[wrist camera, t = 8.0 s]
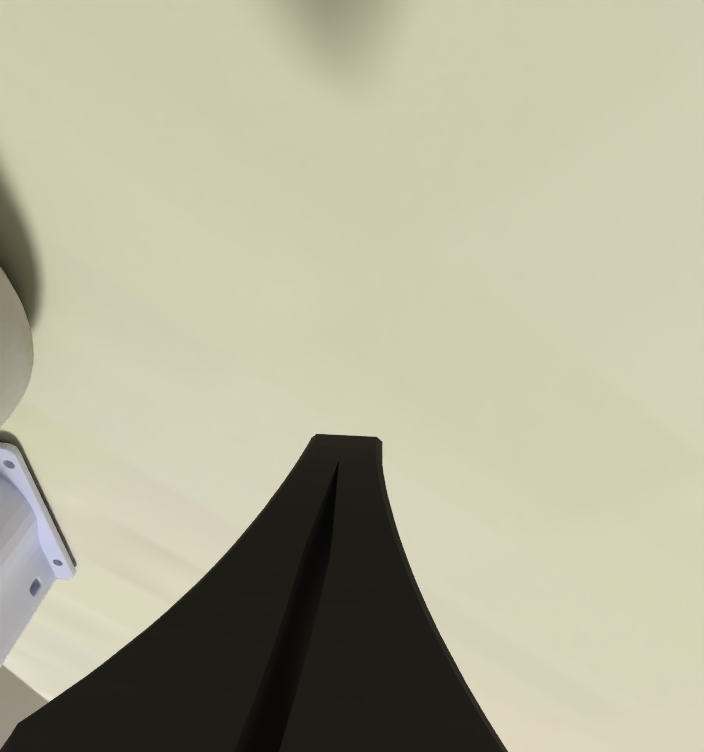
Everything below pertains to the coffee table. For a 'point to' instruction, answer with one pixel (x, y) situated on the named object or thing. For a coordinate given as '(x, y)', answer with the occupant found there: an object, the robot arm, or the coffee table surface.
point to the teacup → (13, 349)
